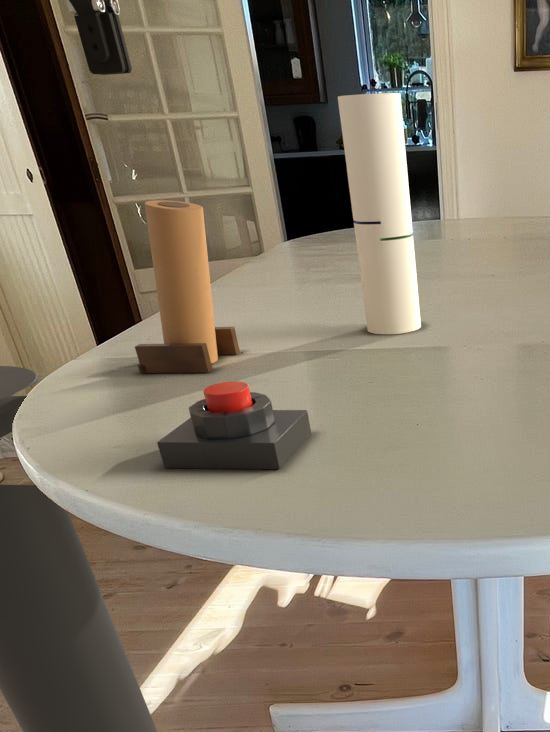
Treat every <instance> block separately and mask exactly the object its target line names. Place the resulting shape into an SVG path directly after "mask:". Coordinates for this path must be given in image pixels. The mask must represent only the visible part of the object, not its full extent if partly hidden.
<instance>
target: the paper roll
mask: <svg viewBox="0 0 550 732" xmlns="http://www.w3.org/2000/svg"><path fill="white" fill-rule="evenodd" d="M144 208H145V209H144V210H145V216H146V217H145V218H146V223H147V230H148V237H149V245H150V252H151V259H152V266H153V273H154V274H153V275H154V281H155V282H154V283H155V288H156V295H157V303H158V310H159V317H160V324H161V330H162V331H161V332H162V338H163V344H173V343H206V344H207V348H208V352H209V356H210V360H211V364H214V363H216V362H218V360H219V358H218V357H219V355H217V345H216V335H215V327H216V325H215V316H214V305H213V296H212V286H211V275H210V274H211V273H210V265H209V264H210V263H209V257H208V256H209V255H208V244H207V235H206V225H205V224H206V223H205V215H204V207H203V206H202V205H200V204H196V203H193V202H187V201H179V200H168V199H167V200H166V199H165V200H163V199H159V200H158V199H157V200H156V199H155V200H147V201H145V202H144Z"/></svg>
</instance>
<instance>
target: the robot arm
mask: <svg viewBox="0 0 550 732" xmlns="http://www.w3.org/2000/svg"><path fill="white" fill-rule="evenodd" d="M65 3H66V6H67V9H68V10H69V12H70V13H71V14H72V15H73V17H74V21H75V24H76V27H77V31H78V35H79V39H80V43H81V45H82V49H83V53H84V57H85V60H86V64H87V67H88V71H89V72H90V73H91V74H92V75H102V76H107V75H108V76H110V75H123V74H131V73H132V71H133V67H132V64H131V60H130V55H129V52H128V48H127V44H126V40H125V36H124V32H123V28H122V24H121V21H120V14H121V7H120V2H119V0H65Z"/></svg>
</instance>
